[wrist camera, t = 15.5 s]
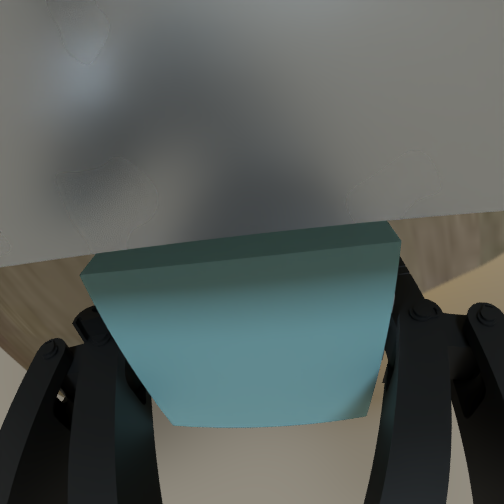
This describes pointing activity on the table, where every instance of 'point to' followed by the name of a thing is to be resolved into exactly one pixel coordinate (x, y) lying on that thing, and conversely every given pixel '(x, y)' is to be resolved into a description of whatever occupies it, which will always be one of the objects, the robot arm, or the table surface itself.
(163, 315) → the block
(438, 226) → the table surface
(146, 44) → the grey open box
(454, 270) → the table surface
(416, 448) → the robot arm
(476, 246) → the table surface
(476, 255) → the table surface
